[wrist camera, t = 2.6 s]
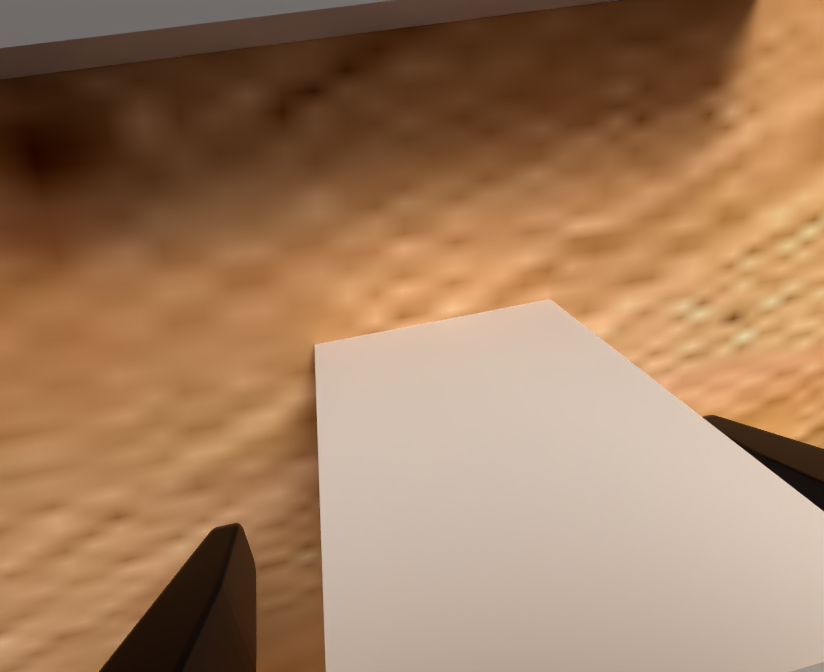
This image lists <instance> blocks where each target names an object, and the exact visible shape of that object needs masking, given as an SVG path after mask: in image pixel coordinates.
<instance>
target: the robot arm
mask: <svg viewBox="0 0 824 672" xmlns="http://www.w3.org/2000/svg"><path fill="white" fill-rule="evenodd" d="M703 418H704V419H705V420H706V421H708V422H709V423H710V424H712V425H713V426H714V427H715V428H717V429H718V430H719V431H721V432H722V433H723V434H725V435H726V436H727V437H728V438H730V439H731V440H732V441H734V442H735V443H736V444H737V445H739V446H740V447H741V448H743V449H744V450H745V451H746V452H748V453H749V454H750V455H752V456H753V457H754V458H755V459H757V460H758V461H759V462H761V463H762V464H763V465H764V466H766V467H767V468H768V469H770V470H771V471H772V472H773V473H775V474H776V475H777V476H779V477H780V478H781V479H782V480H784V481H785V482H786V483H788V484H789V485H790V486H791V487H793V488H794V489H795V490H797V491H798V492H799V493H801V494H802V495H803V496H804V497H806V498H807V499H808V500H810V501H811V502H812V503H813V504H815V505H816V506H817V507H819V508H820V509H821V510H822V511H824V449H822V448H819V447H816V446H812V445H809V444H806V443H803V442H799V441H796V440H793V439H790V438H786V437H783V436H780V435H777V434H773V433H770V432H767V431H764V430H761V429H757V428H754V427H751V426H748V425H744V424H741V423H738V422H735V421H731V420H728V419H725V418H722V417H718V416H715V415H707V416H703ZM99 672H256V567H255V562H254V558H253V555H252V552H251V549H250V547H249V544H248V541H247V538H246V535H245V532H244V529H243V527H242V526H241V525H240V524H238V523H233V524H229V525H225V526H220V527H216V528H214V529H213V530H212V531H211V532H210V533H209V534H208V535H207V536H206V538H205V539H204V540H203V541H202V543H201V544H200V545H199V546H198V548H197V549H196V550H195V552H194V553H193V554H192V555H191V557H190V558H189V559H188V560H187V562H186V563H185V564H184V565H183V567H182V568H181V569H180V570H179V572H178V573H177V574H176V575H175V577H174V578H173V579H172V580H171V582H170V583H169V584H168V585H167V587H166V588H165V589H164V590H163V592H162V593H161V594H160V595H159V597H158V598H157V599H156V601H155V602H154V603H153V604H152V606H151V607H150V608H149V609H148V611H147V612H146V613H145V614H144V616H143V617H142V618H141V619H140V621H139V622H138V623H137V624H136V626H135V627H134V628H133V629H132V631H131V632H130V633H129V634H128V636H127V637H126V638H125V639H124V641H123V642H122V643H121V644H120V646H119V647H118V648H117V650H116V651H115V652H114V653H113V655H112V656H111V657H110V658H109V660H108V661H107V662H106V663H105V665H104V666H103V667H102V668H101V670H100V671H99Z"/></svg>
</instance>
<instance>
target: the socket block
mask: <svg viewBox="0 0 824 672" xmlns="http://www.w3.org/2000/svg"><path fill="white" fill-rule="evenodd" d="M609 1H617V0H0V79H8V78H16V77H24V76H32V75H39V74H47V73H55V72H63V71H71V70H78V69H86V68H94V67H102V66H110V65H117V64H125V63H133V62H141V61H149V60H156V59H164V58H172V57H180V56H188V55H195V54H203V53H211V52H219V51H227V50H234V49H242V48H250V47H258V46H266V45H273V44H281V43H289V42H297V41H305V40H312V39H320V38H328V37H336V36H344V35H351V34H359V33H367V32H375V31H383V30H390V29H398V28H406V27H414V26H422V25H429V24H437V23H445V22H453V21H461V20H469V19H476V18H484V17H492V16H500V15H508V14H515V13H523V12H531V11H539V10H547V9H554V8H562V7H570V6H578V5H586V4H593V3H601V2H609Z"/></svg>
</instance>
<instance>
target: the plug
mask: <svg viewBox="0 0 824 672" xmlns="http://www.w3.org/2000/svg"><path fill="white" fill-rule="evenodd" d="M314 348H315V376H316V405H317V434H318V462H319V491H320V520H321V548H322V577H323V606H324V634H325V663H326V672H824V511H822V510H821V509H820V508H819V507H817V506H816V505H815V504H813V503H812V502H811V501H810V500H808V499H807V498H806V497H804V496H803V495H802V494H801V493H799V492H798V491H797V490H795V489H794V488H793V487H791V486H790V485H789V484H788V483H786V482H785V481H784V480H782V479H781V478H780V477H779V476H777V475H776V474H775V473H773V472H772V471H771V470H770V469H768V468H767V467H766V466H764V465H763V464H762V463H761V462H759V461H758V460H757V459H755V458H754V457H753V456H752V455H750V454H749V453H748V452H746V451H745V450H744V449H743V448H741V447H740V446H739V445H737V444H736V443H735V442H734V441H732V440H731V439H730V438H728V437H727V436H726V435H725V434H723V433H722V432H721V431H719V430H718V429H717V428H715V427H714V426H713V425H712V424H710V423H709V422H708V421H706V420H705V419H704V418H703V417H701V416H700V415H699V414H697V413H696V412H695V411H694V410H692V409H691V408H690V407H688V406H687V405H686V404H685V403H683V402H682V401H681V400H679V399H678V398H677V397H676V396H674V395H673V394H672V393H670V392H669V391H668V390H667V389H665V388H664V387H663V386H661V385H660V384H659V383H658V382H656V381H655V380H654V379H652V378H651V377H650V376H649V375H647V374H646V373H645V372H643V371H642V370H641V369H639V368H638V367H637V366H636V365H634V364H633V363H632V362H630V361H629V360H628V359H627V358H625V357H624V356H623V355H621V354H620V353H619V352H618V351H616V350H615V349H614V348H612V347H611V346H610V345H609V344H607V343H606V342H605V341H603V340H602V339H601V338H600V337H598V336H597V335H596V334H594V333H593V332H592V331H591V330H589V329H588V328H587V327H585V326H584V325H583V324H582V323H580V322H579V321H578V320H576V319H575V318H574V317H572V316H571V315H570V314H569V313H567V312H566V311H565V310H563V309H562V308H561V307H560V306H558V305H557V304H556V303H554V302H553V301H552V300H551V299H548V300H543V301H538V302H533V303H528V304H522V305H517V306H512V307H507V308H502V309H497V310H491V311H486V312H481V313H476V314H471V315H466V316H460V317H455V318H450V319H445V320H440V321H435V322H429V323H424V324H419V325H414V326H409V327H404V328H399V329H393V330H388V331H383V332H378V333H373V334H368V335H362V336H357V337H352V338H347V339H342V340H337V341H331V342H326V343H321V344H316V345H314Z"/></svg>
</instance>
